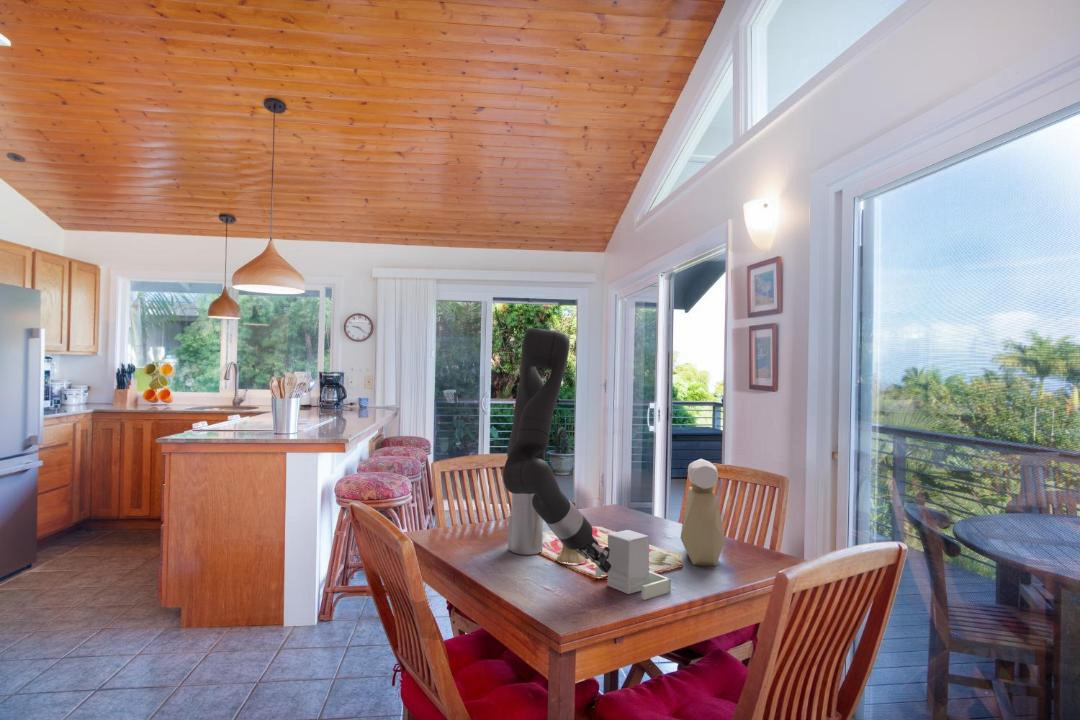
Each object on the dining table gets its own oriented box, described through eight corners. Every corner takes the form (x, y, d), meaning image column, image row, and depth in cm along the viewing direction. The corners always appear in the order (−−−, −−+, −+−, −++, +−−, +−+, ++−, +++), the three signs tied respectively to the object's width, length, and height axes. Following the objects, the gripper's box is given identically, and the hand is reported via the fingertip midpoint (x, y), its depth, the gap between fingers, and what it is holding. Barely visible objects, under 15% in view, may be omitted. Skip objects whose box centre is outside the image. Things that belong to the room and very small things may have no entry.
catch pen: (644, 600, 133) (644, 586, 133) (595, 578, 146) (595, 566, 146) (670, 591, 138) (670, 579, 138) (621, 571, 151) (621, 560, 152)
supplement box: (649, 588, 140) (650, 535, 140) (627, 595, 136) (628, 540, 136) (627, 579, 146) (628, 528, 146) (606, 585, 142) (606, 533, 142)
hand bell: (591, 559, 161) (592, 501, 161) (576, 567, 154) (577, 507, 154) (565, 554, 166) (567, 497, 166) (550, 561, 159) (551, 502, 159)
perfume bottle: (685, 572, 152) (687, 465, 152) (675, 545, 176) (676, 452, 176) (733, 575, 150) (734, 466, 151) (716, 548, 174) (717, 454, 175)
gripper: (597, 516, 126) (635, 563, 133) (559, 504, 137) (596, 548, 144) (578, 544, 123) (618, 591, 130) (540, 530, 134) (580, 574, 141)
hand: (607, 568), depth 137 cm, fingers closed
